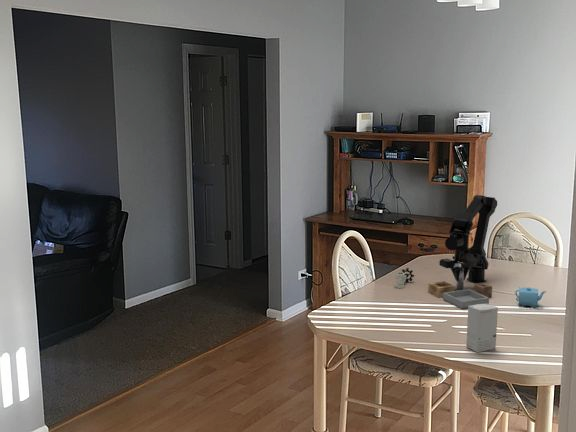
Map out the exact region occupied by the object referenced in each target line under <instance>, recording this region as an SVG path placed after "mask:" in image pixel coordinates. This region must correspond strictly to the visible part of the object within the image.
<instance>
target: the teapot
mask: <svg viewBox="0 0 576 432" xmlns="http://www.w3.org/2000/svg"><path fill="white" fill-rule="evenodd" d="M518 288H519V289H517V290H516V291H515V292H514V293H515V294H514V295H515V296H516V297H515V298H516V300H515V301H517V302H518V305H519V306H521V307H522V308H525V307H526V306H527V307H528V306H529V307H530V308H532V309H534V307H538V303H539V301H540V300H542V298H543V295H544V294H545V293H547V292H548V291H546V290H543V291H541V292H540V294H539V289H538V288H532V287H530V286H529V287H528V286H527V287H518ZM517 292H518V293H517Z"/></svg>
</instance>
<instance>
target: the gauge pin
mask: <svg viewBox="0 0 576 432" xmlns="http://www.w3.org/2000/svg"><path fill="white" fill-rule="evenodd" d="M460 267H461V266H460ZM464 282H465V280H464V267H461V268H460V269H459V279H458V281H456V286H455V290H456V291H459V290H464V288H465V287H464Z"/></svg>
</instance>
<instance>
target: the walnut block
mask: <svg viewBox="0 0 576 432" xmlns="http://www.w3.org/2000/svg"><path fill="white" fill-rule="evenodd" d="M474 291H475V292H477V293H479V294H481V295H483V296H486V297H488V298H489V299H490V298H492V297H493V295H492V294H493V286H492V285H490V284H487V283H486V282H481V283H475V284H474Z"/></svg>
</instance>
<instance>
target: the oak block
mask: <svg viewBox="0 0 576 432" xmlns="http://www.w3.org/2000/svg"><path fill="white" fill-rule="evenodd" d="M427 285H428V287H427V288H428V290H427V292H428V294H431V295H433V296H434V297H436V298H443V293H445V292H452V291H456V286H455V285H453V284H451V283H450V282H447V281H443V280H442V281H436V282H431V283H430V282H429V283H428V284H427Z"/></svg>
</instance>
